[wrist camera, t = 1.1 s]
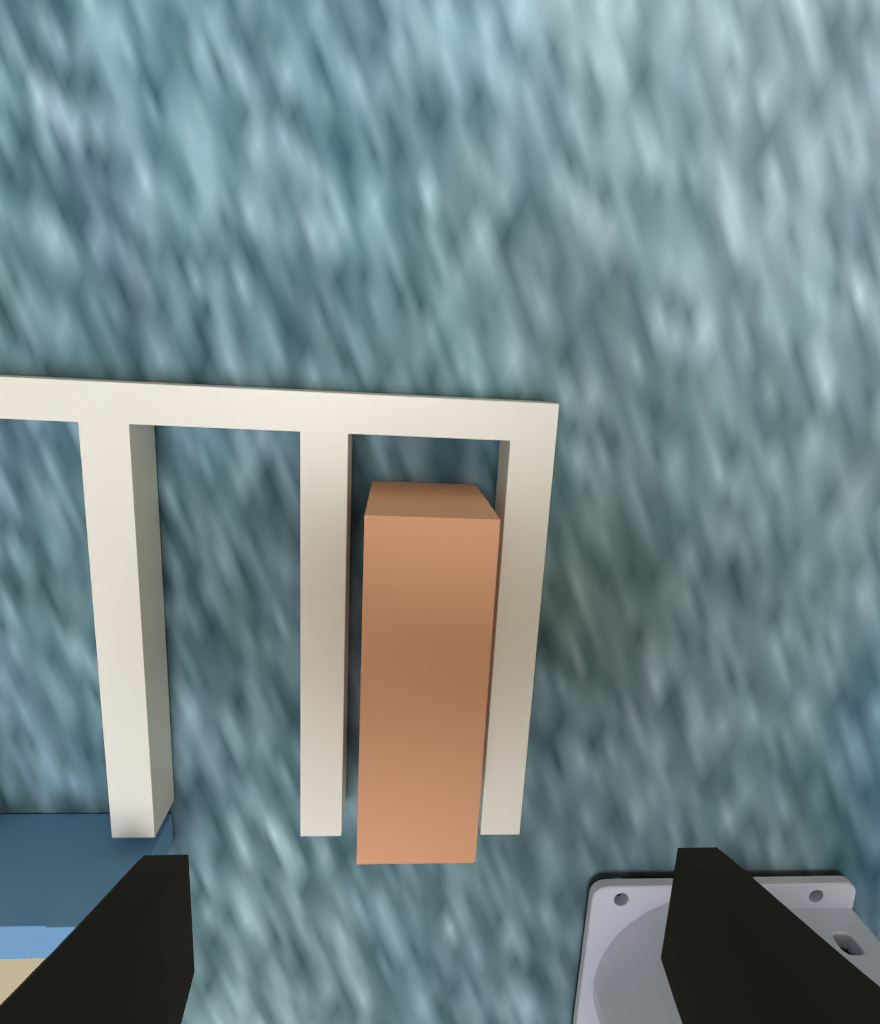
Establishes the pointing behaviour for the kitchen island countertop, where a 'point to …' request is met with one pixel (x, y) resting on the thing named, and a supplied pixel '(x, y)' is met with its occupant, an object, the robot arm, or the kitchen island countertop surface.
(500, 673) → the comb organizer
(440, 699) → the tall peach block
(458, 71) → the kitchen island countertop surface
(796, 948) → the robot arm
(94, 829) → the blue bracket
